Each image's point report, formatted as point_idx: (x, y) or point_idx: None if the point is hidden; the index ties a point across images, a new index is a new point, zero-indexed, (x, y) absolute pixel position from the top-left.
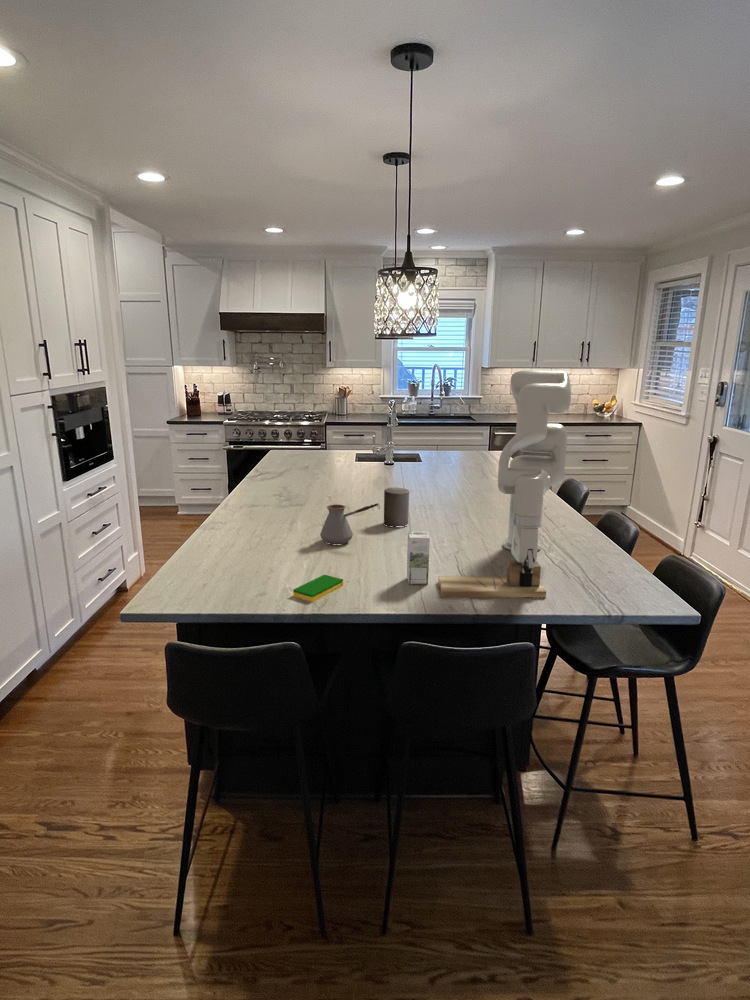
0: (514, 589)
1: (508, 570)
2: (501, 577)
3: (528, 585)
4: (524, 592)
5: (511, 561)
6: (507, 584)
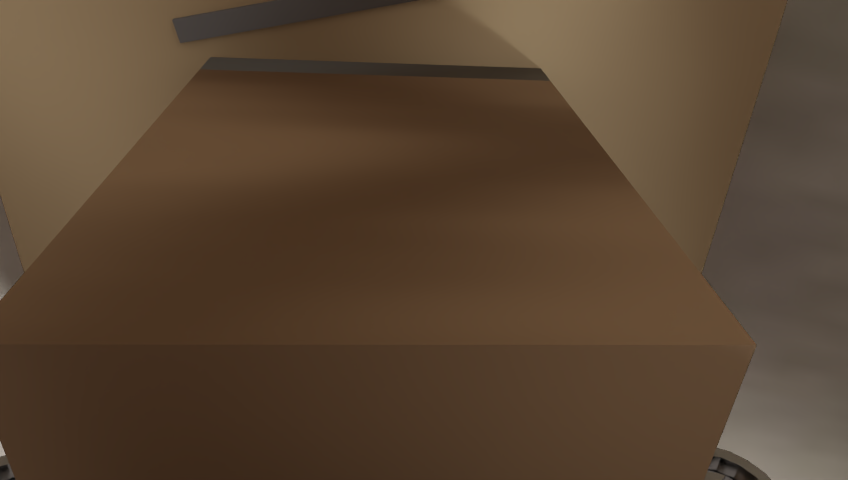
0: (74, 103)
1: (485, 171)
2: (723, 2)
3: None
4: (29, 242)
5: (619, 444)
6: (330, 29)
